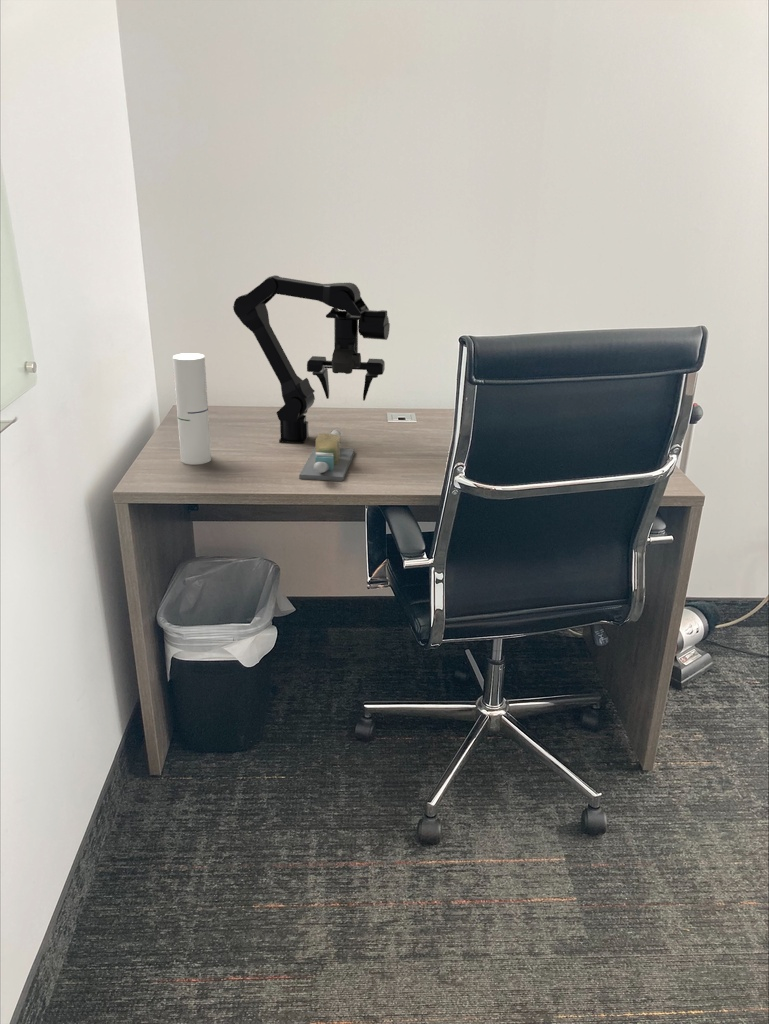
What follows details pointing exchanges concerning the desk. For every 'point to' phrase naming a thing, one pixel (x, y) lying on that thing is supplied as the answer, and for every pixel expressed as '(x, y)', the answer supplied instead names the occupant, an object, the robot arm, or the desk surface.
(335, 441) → the block
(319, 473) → the coupling stand
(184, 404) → the cylindrical container
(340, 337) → the robot arm
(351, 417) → the desk surface
